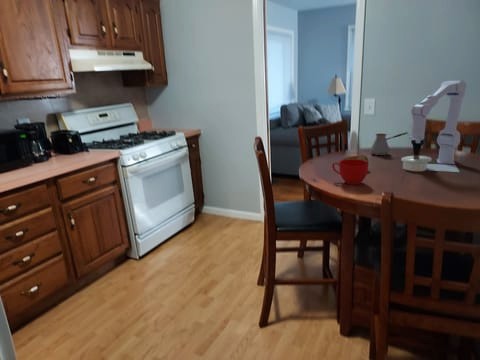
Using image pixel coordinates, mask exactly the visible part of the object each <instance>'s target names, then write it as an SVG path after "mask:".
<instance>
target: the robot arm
mask: <svg viewBox="0 0 480 360" xmlns="http://www.w3.org/2000/svg"><path fill="white" fill-rule="evenodd" d="M466 91H467V83H466V81H465V80H464V79H462V80H444V81H443V82H442V83H441V84H440V87H439V88H438V89H437V90H436V91H435V92H434V93H433V94H430V95H427V96H426V97H425V98H424V99H423V100H422V101H421V102H420V103H417V104H415V105H413V106H412V109H411V115H412V117H411V118H412V128H411V129H412V131H411V136H410V135H408V138H409V139H411V140H410V142H411V144H412V150H413V151H412V153H413V154H414V155H419V156H420V151H421V149H422V147H423V145H424V140H425V132H426V124H427V122H426V121H427V116H429V115H430V113H431V111H432V109H433V108H434V107H435V106H436V105H437V104H438V103H439V100H441V98H443V97H444V96H447V97H449V98H450V101H449V107H448V112H447V117H446V121H445V124H444V125H445V126H444V128H443V129H442V130H440V131H439V133H438V136H437V139H436V142H437V144H438V146H439V154H438V158H436V162H437V164H443V165H456V163H455V161H454V159H455V151H456V148H457V147H458V146H459V145H460V143H461V133H460V132H459V130H457V128H458V127H457V126H458V122H459V118H460V117H459V116H460V113H461V108H462V103H463V99H464V97H465V95H466Z"/></svg>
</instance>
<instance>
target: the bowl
mask: <svg viewBox="0 0 480 360" xmlns="http://www.w3.org/2000/svg"><path fill="white" fill-rule="evenodd" d="M402 162H403V161H402ZM427 164H428V162H426V163H406V162H403V163H402V169H403V170H406V171H409V172H410V171H411V172H424V171H427Z"/></svg>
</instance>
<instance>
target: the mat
mask: <svg viewBox="0 0 480 360" xmlns="http://www.w3.org/2000/svg"><path fill="white" fill-rule="evenodd" d="M426 171H433V172H435V171H437V172H453V173H460V170H459V168H458V167H457V165H456V164H442V163H427V169H426Z"/></svg>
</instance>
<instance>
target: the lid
mask: <svg viewBox="0 0 480 360" xmlns="http://www.w3.org/2000/svg"><path fill="white" fill-rule="evenodd" d="M400 159H401V162H406V163H426V162H427V163H430V162H432V161H433V160H432V157H430V156H426V155H420V154H419V155H414V153H413V154H412V155H409V156H408V155H407V156H404V157H401V158H400Z"/></svg>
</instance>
